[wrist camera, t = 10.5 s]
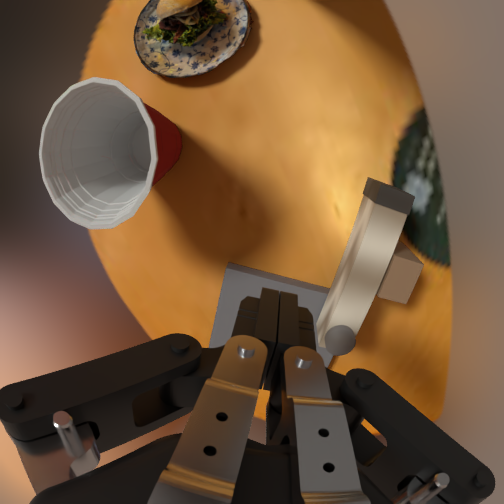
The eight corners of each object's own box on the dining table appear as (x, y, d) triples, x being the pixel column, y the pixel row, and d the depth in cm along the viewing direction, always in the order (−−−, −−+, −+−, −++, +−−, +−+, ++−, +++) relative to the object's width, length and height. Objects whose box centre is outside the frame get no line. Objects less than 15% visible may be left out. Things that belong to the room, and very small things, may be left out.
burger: (129, 78, 27) (90, 67, 20) (154, -15, 23) (124, -43, 16) (241, 87, 26) (226, 70, 19) (263, -13, 22) (256, -50, 15)
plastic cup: (93, 143, 29) (15, 154, 18) (163, 73, 26) (98, 46, 15) (149, 219, 32) (86, 261, 21) (228, 153, 29) (190, 163, 17)
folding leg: (342, 329, 32) (349, 359, 27) (315, 322, 32) (318, 352, 27) (398, 188, 26) (419, 198, 21) (367, 177, 26) (384, 185, 21)
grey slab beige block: (243, 197, 30) (233, 210, 24) (402, 242, 30) (423, 264, 24) (207, 360, 37) (195, 393, 32) (332, 389, 37) (336, 423, 32)
